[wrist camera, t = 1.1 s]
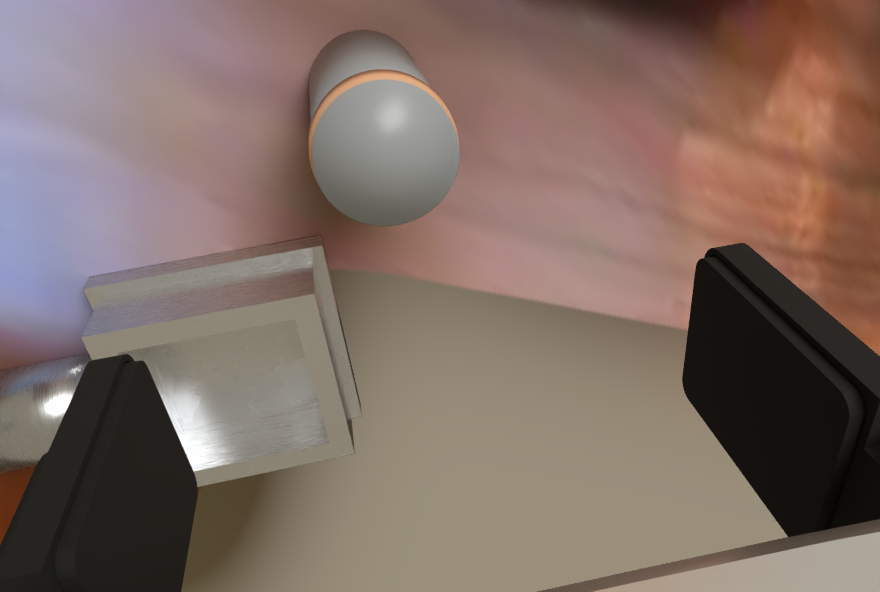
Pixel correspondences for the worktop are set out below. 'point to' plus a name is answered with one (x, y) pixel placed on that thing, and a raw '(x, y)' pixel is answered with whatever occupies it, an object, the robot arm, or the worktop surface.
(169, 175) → the worktop surface
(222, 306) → the fitting
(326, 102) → the canister
